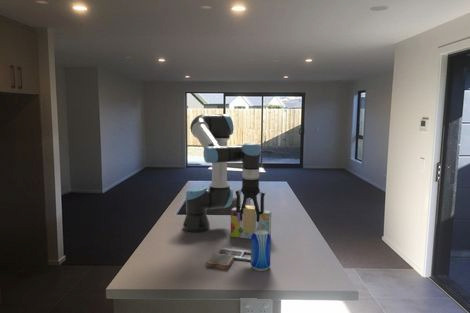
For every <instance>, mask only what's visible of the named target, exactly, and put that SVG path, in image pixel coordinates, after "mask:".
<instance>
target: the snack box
mask: <svg viewBox="0 0 470 313" xmlns="http://www.w3.org/2000/svg"><path fill="white" fill-rule="evenodd" d="M240 209H241V207H240ZM257 229H264V230H267V231H269V234H270V236H271V237H272V211H271V210H264V213H263V214H260V220H259V222H257ZM257 229H256V230H257ZM252 234H253V233H250V232H243V228H242V220H240V213H239V212H236V207H232V208H231V210H230V237H232V238H241V239H247V240H248V239H249V240H251V236H252Z"/></svg>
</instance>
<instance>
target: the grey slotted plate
mask: <svg viewBox="0 0 470 313" xmlns="http://www.w3.org/2000/svg"><path fill="white" fill-rule="evenodd" d="M217 254H223V255H232V256H234V261H235V260H236V261H243V262H251V257H245V256H244V255H245V254H246V255H251V250H244V249H234V248H227V247H226V248H225V247H222V249H220V250H219V252H218V253H217Z"/></svg>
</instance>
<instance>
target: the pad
mask: <svg viewBox="0 0 470 313" xmlns="http://www.w3.org/2000/svg"><path fill="white" fill-rule="evenodd" d="M234 261H235V260H234V256H232V255H223V254H218V253H215V252H214V253H212V254H211V256H210V257H209V258H208V259H207V260H206V261H205V267H206V268H212V269H220V270H227V271H228V270H229V269H230V268H231V267H232V264H233V263H234Z"/></svg>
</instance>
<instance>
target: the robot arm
mask: <svg viewBox="0 0 470 313" xmlns="http://www.w3.org/2000/svg"><path fill="white" fill-rule="evenodd" d="M233 122H234V121H233V119H232V117H231V116H230V114H227V113H226V114H225V113H223V114H222V113H219V114H217V113H215V114H214V113H213V114H211V113H209V114H207V113H203V114H200V115H197V116H195V117H194V118H193V120H191V123H190V125H189V126H190V128H189V129H190V132H191V135H192V136H193V137H195V138H196V139H197V140H198V143H200V145H201V146H202V148H203V159H204V161H205V163H207V164H211V169H212V170H211V183H210V184H209V188H207V187H206V186H203V185H199V186H194V187H193V186H192V187H190V188H188V189H187V190H186V192H185V214H186V215H185V216H184V217H185V218H184V219H183V220H184V221H183V224H182V225H183V226H182V229H183V230H184V231H186V232H191V233H201V232H205V231H208V230H210V227H211V226H210V225H211V224H210V221H209V217H208V214H207V211H208V210H215V209H225V208H229V207H231V205H232V203H233V199H234V192H233V189H232V187H231V186H230V184H229V183H228V163H237V162H238V163H239V162H240V163H242V170H241V171H242V174H241V175H242V176H241V177H242V179H241V180H242V181H241V189H236V191H235V195H236V206H235V208H236V212H239V213H240V220H242V228H243V209H244V207H245V206H246V204H247V200H248V199H252V202H253V206H255V210H256V214H255V229H257V222H259V220H260V214H263V213H264V211H265V196H266V192H265V191H261V189H260V178H259V177H260V157H261V156H260V153H261V150H260V149H261V148H260V144H259V143H257V142H256V143H255V142H245V143H243V144H237V145H236V144H235V145H228V141H229V140H230V138H231V137H230V136H231V135H233V133H234V123H233ZM241 194H242V195H243V201H242V204H241ZM258 195H259V197H260V204H259V203H258ZM259 205H260V206H259ZM240 208H241V209H240Z"/></svg>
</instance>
